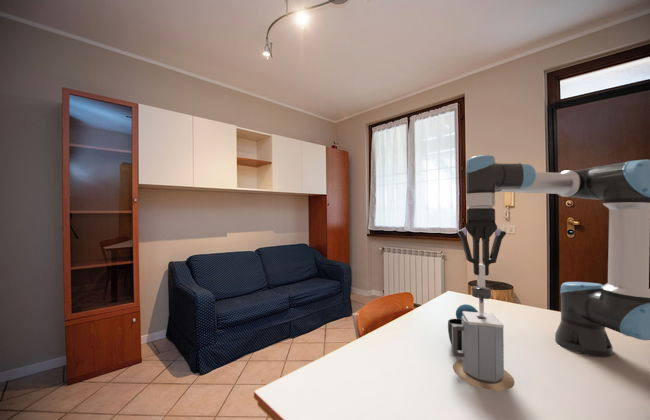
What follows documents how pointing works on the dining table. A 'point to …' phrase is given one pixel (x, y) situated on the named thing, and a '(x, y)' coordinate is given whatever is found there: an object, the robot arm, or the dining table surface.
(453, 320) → the mug
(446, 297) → the dining table surface
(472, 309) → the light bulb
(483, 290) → the plunger
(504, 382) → the cork trivet
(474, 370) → the carafe
